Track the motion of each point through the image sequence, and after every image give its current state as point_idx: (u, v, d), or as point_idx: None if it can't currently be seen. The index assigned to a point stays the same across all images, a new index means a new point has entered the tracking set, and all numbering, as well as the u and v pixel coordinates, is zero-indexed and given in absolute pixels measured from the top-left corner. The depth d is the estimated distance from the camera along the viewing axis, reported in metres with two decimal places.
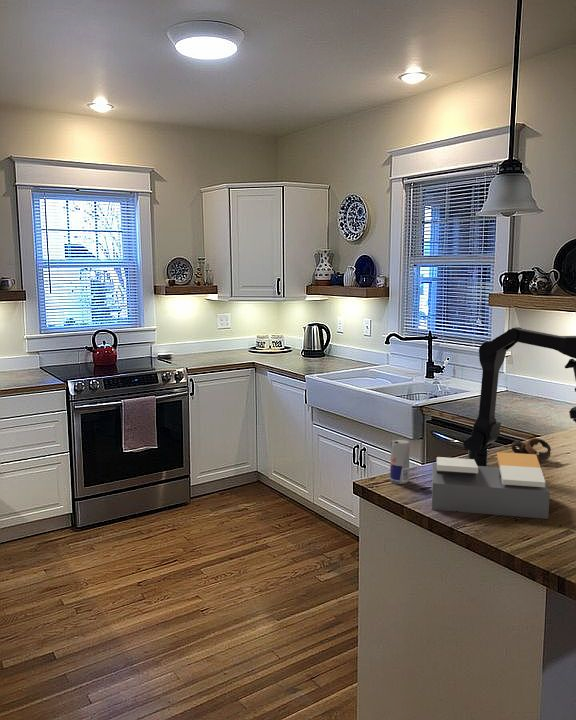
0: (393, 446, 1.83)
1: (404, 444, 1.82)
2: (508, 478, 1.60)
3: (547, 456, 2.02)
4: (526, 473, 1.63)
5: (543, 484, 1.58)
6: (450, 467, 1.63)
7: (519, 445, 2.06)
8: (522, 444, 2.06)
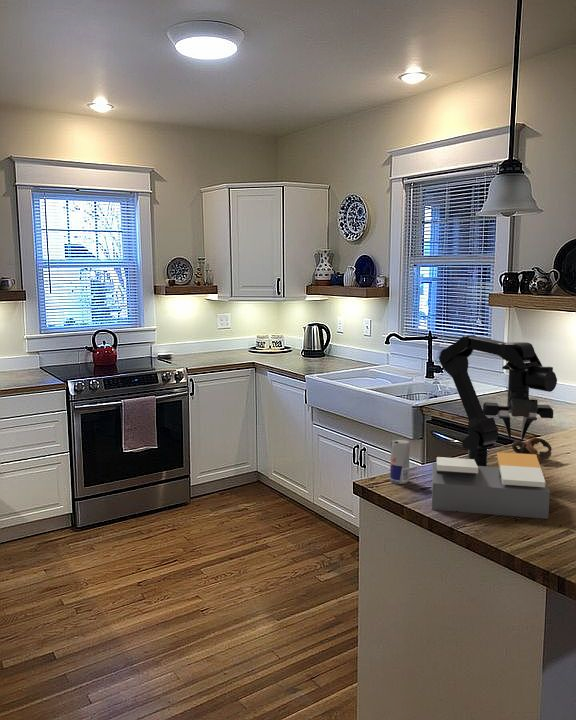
0: (393, 446, 1.83)
1: (404, 444, 1.82)
2: (508, 478, 1.60)
3: (548, 455, 2.03)
4: (526, 473, 1.63)
5: (543, 484, 1.58)
6: (450, 467, 1.63)
7: (520, 444, 2.06)
8: (523, 443, 2.06)
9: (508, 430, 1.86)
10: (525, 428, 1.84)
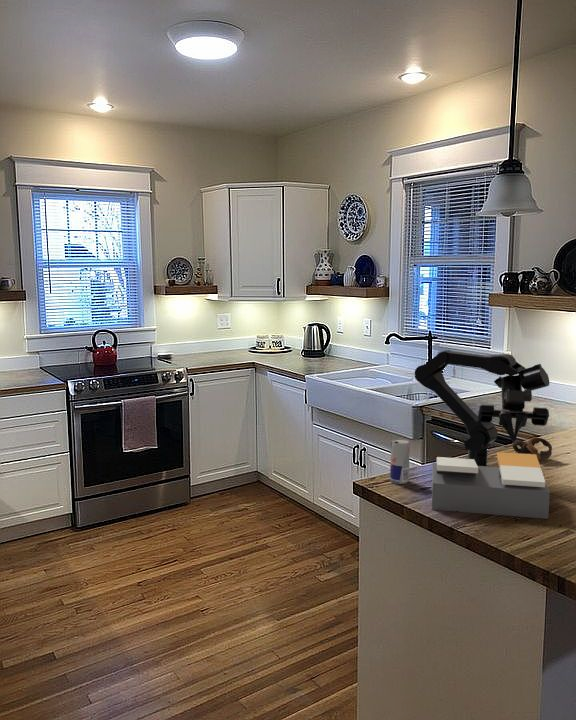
0: (393, 446, 1.83)
1: (404, 444, 1.82)
2: (508, 478, 1.60)
3: (548, 455, 2.03)
4: (526, 473, 1.63)
5: (543, 484, 1.58)
6: (450, 467, 1.63)
7: (520, 444, 2.07)
8: (523, 443, 2.07)
9: (511, 430, 1.80)
10: (517, 427, 1.80)
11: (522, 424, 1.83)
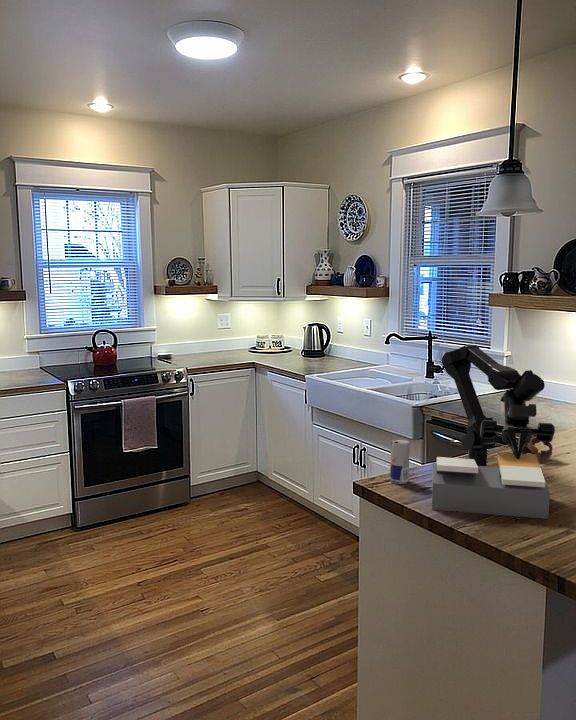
0: (393, 446, 1.83)
1: (404, 444, 1.82)
2: (508, 478, 1.60)
3: (549, 454, 2.04)
4: (526, 473, 1.63)
5: (543, 484, 1.58)
6: (450, 467, 1.63)
7: None
8: None
9: (515, 447, 1.71)
10: (521, 444, 1.71)
11: (526, 440, 1.75)
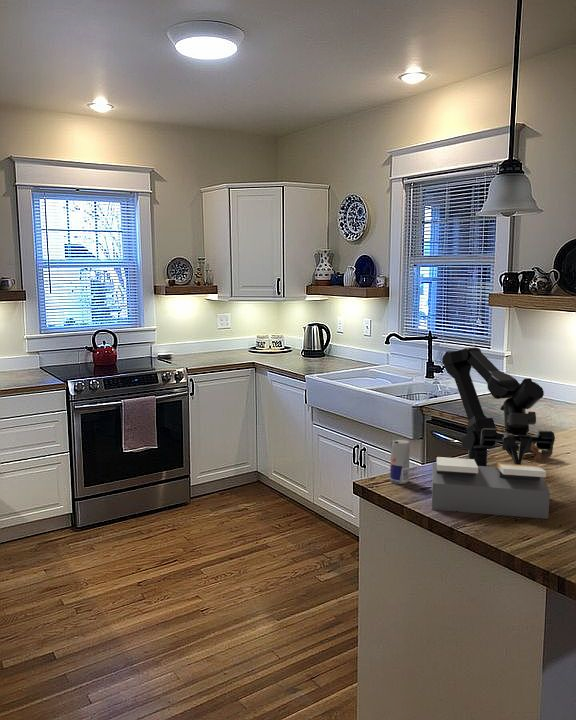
0: (393, 446, 1.83)
1: (404, 444, 1.82)
2: (509, 468, 1.60)
3: (549, 454, 2.05)
4: (526, 468, 1.63)
5: (544, 473, 1.58)
6: (450, 467, 1.63)
7: None
8: None
9: (515, 455, 1.71)
10: (521, 452, 1.71)
11: (527, 448, 1.75)
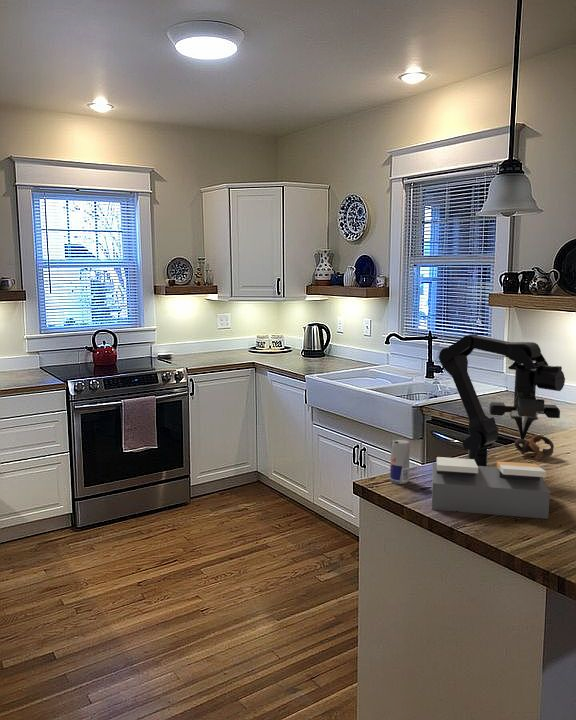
0: (393, 446, 1.83)
1: (404, 444, 1.82)
2: (509, 468, 1.60)
3: (550, 453, 2.06)
4: (526, 468, 1.63)
5: (544, 473, 1.58)
6: (450, 467, 1.63)
7: (523, 442, 2.09)
8: (525, 441, 2.09)
9: (520, 430, 1.85)
10: (526, 428, 1.85)
11: None
